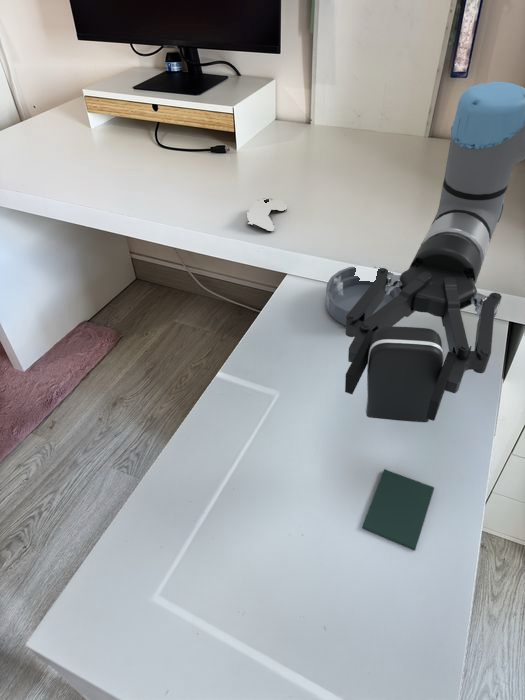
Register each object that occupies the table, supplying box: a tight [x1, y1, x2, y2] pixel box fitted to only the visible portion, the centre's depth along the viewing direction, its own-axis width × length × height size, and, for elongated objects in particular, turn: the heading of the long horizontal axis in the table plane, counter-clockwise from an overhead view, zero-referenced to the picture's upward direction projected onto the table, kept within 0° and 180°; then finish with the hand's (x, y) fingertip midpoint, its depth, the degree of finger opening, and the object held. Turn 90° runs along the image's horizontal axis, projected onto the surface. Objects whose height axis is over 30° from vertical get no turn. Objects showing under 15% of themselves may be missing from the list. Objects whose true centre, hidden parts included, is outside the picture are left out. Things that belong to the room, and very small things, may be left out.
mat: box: [361, 468, 435, 551], centre depth 58 cm, size 6×8×1 cm
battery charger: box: [365, 325, 445, 423], centre depth 51 cm, size 7×4×11 cm, turn 79°
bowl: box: [325, 266, 401, 327], centre depth 81 cm, size 12×12×4 cm
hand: (389, 396), depth 47 cm, fingers closed on battery charger, 7 cm apart
